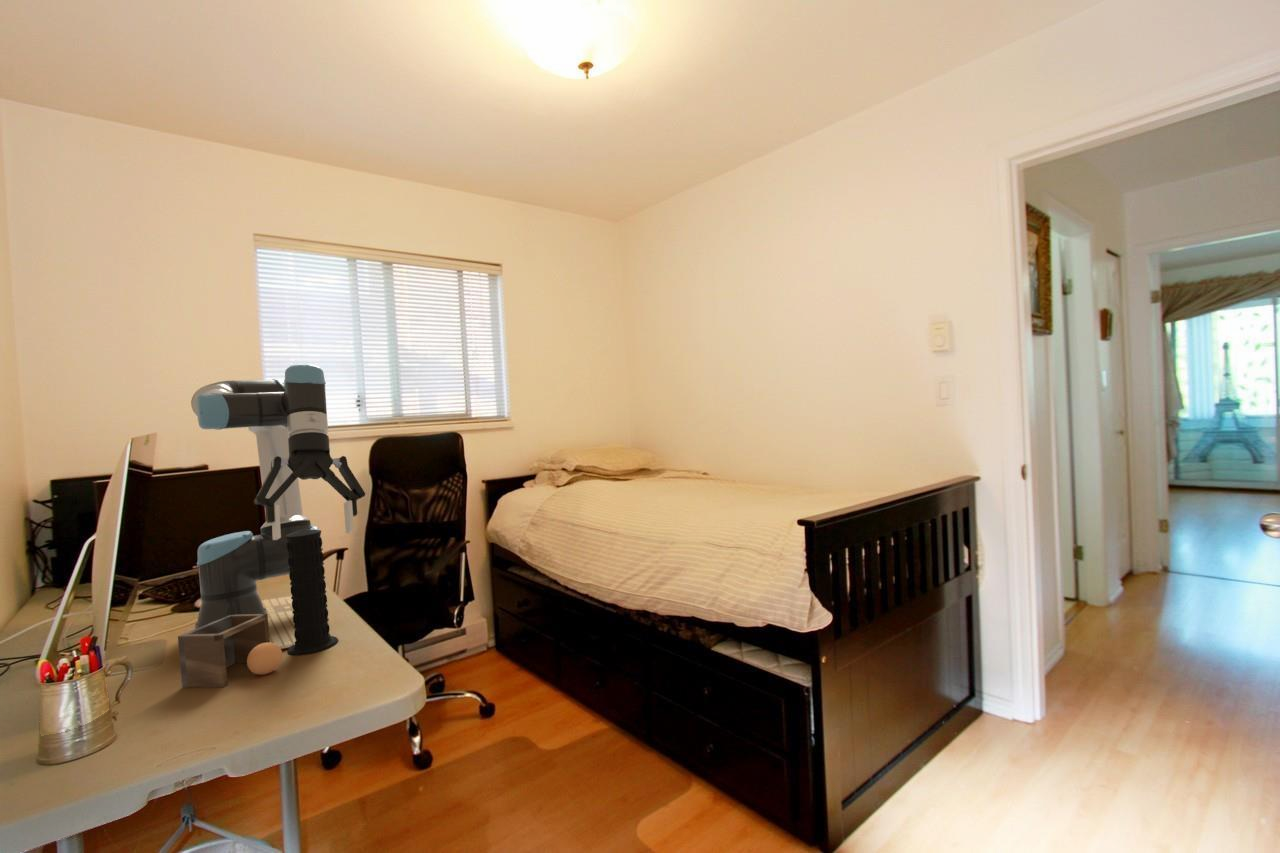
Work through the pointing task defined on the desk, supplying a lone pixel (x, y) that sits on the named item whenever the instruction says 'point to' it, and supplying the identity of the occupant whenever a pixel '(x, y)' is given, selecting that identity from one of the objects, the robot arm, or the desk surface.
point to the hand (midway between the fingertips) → (314, 535)
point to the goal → (219, 648)
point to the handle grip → (308, 593)
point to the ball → (264, 658)
